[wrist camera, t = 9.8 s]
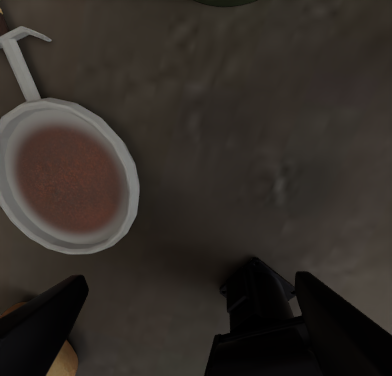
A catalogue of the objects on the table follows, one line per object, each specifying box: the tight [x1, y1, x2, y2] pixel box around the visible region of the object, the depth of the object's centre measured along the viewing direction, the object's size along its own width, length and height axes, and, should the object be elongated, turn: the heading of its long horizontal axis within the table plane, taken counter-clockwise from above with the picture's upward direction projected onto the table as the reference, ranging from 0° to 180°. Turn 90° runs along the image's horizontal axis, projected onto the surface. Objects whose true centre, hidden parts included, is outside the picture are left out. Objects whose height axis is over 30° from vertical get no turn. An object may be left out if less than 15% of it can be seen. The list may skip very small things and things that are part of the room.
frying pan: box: [0, 8, 140, 254], centre depth 20 cm, size 17×3×28 cm
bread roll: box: [0, 302, 78, 376], centre depth 26 cm, size 10×15×8 cm, turn 21°
